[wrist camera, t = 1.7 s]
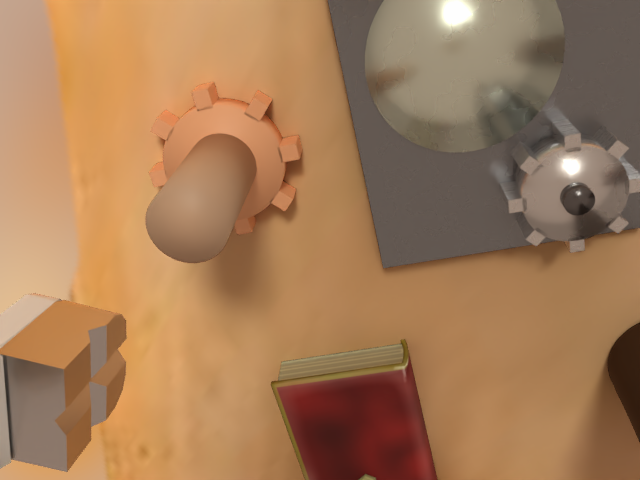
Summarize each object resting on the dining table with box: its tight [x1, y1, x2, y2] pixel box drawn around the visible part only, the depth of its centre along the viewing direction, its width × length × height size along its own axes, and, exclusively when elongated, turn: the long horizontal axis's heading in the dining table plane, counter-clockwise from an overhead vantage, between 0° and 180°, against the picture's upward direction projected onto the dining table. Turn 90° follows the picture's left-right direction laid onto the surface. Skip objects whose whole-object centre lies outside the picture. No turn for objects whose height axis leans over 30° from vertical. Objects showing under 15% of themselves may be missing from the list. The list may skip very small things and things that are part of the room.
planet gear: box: [146, 82, 302, 263], centre depth 42 cm, size 11×11×12 cm
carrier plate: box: [328, 0, 640, 268], centre depth 41 cm, size 24×20×6 cm
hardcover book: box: [271, 339, 437, 480], centre depth 58 cm, size 12×21×4 cm, turn 14°
